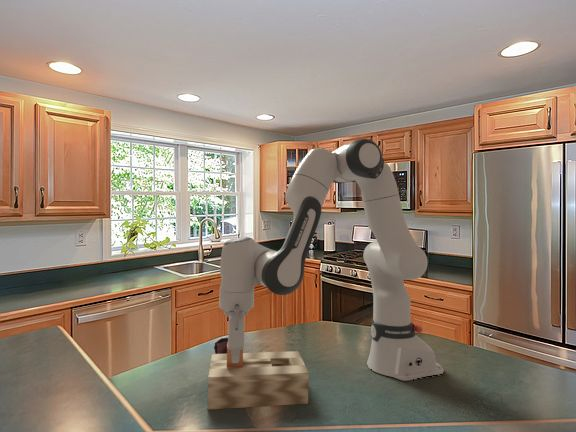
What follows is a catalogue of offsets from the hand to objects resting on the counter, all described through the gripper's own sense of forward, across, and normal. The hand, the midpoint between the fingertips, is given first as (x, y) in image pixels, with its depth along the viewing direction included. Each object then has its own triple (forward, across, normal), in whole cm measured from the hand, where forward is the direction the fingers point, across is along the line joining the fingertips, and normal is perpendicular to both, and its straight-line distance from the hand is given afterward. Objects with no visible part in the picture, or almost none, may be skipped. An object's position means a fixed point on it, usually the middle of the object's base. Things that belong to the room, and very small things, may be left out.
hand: (235, 354), depth 88 cm
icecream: (+10, +22, +3) cm, 25 cm away
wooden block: (+6, 0, 0) cm, 6 cm away
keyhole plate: (+10, 0, -6) cm, 11 cm away
